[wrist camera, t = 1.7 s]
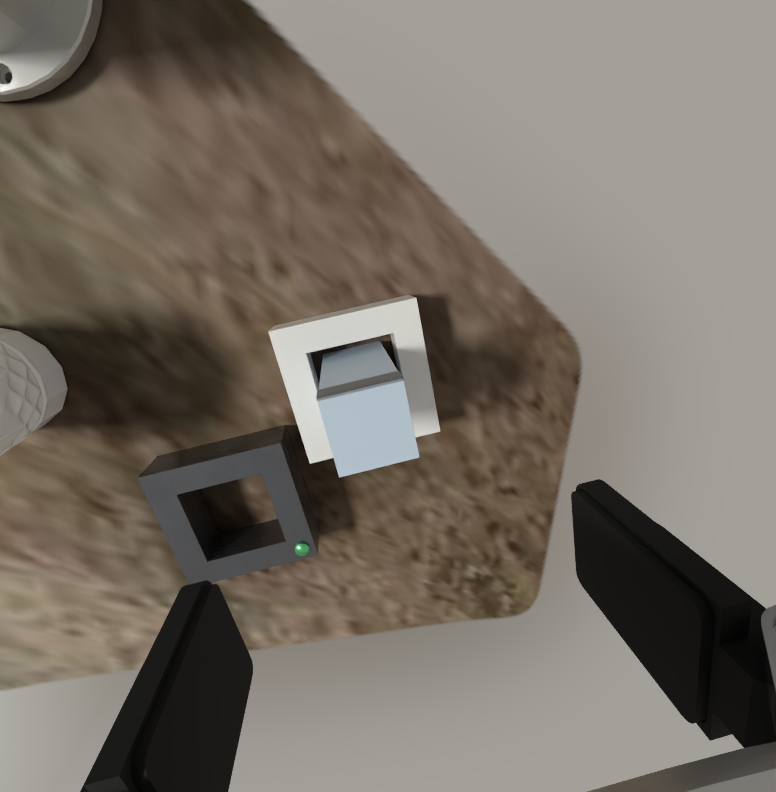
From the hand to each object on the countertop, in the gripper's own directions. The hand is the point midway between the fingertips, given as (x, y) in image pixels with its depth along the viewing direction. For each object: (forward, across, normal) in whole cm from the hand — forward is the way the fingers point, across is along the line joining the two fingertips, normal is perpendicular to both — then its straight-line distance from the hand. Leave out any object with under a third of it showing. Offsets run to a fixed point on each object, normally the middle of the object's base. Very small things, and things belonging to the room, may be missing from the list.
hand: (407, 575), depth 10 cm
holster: (+19, 0, 0) cm, 19 cm away
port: (+19, +11, +6) cm, 23 cm away
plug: (+19, 0, 0) cm, 19 cm away
